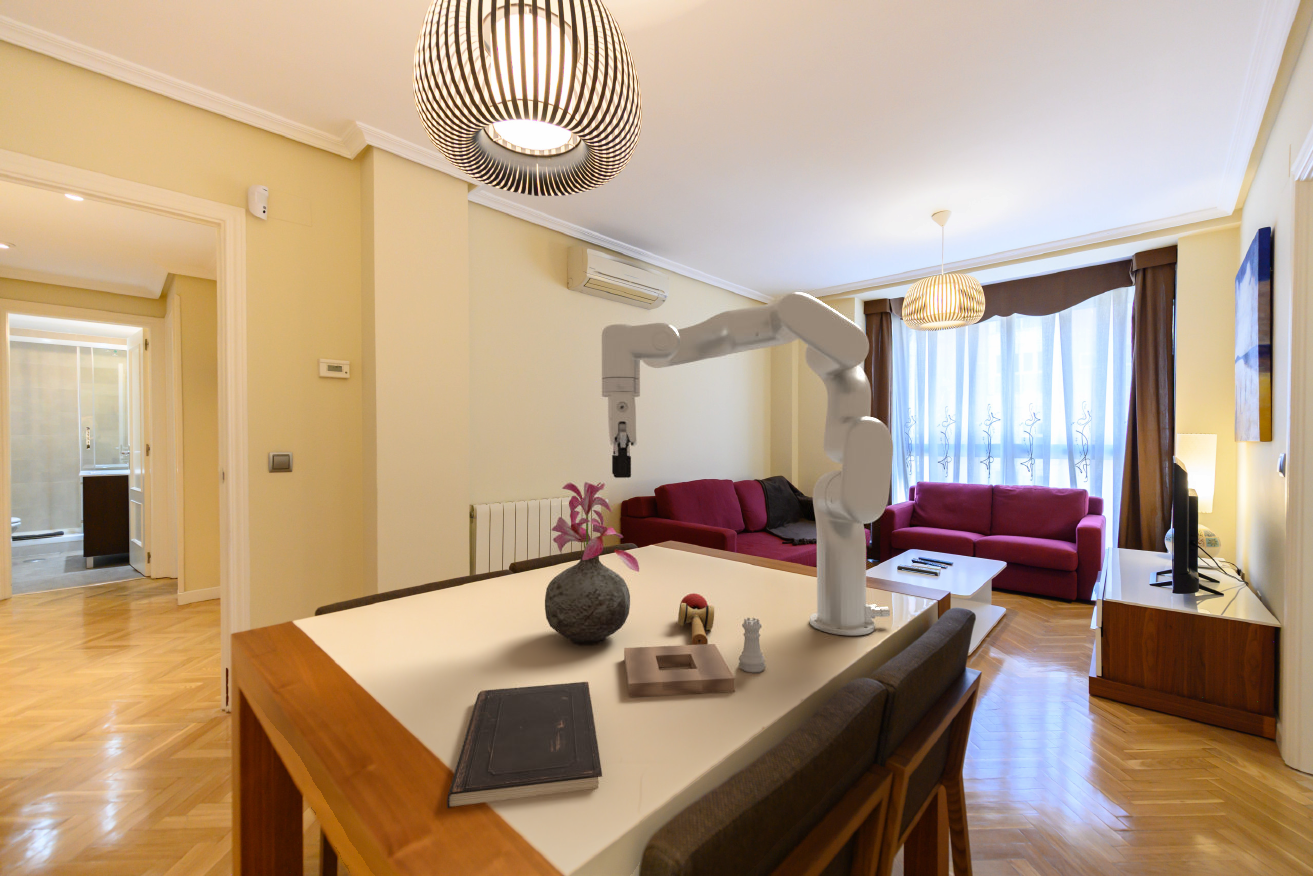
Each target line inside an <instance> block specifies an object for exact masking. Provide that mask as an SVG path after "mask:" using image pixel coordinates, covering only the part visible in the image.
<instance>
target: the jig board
mask: <svg viewBox="0 0 1313 876" xmlns="http://www.w3.org/2000/svg"><path fill="white" fill-rule="evenodd" d="M623 650H624V654H623V655H624V667H625V668H624V669H625V676H626V677H625V678H626V685H627V692H628V694H627V695H628V698H639V697H640V698H641V697H657V696H659V697H660V696H674V695H678V696H679V695H695V694H697V695H698V694H710V693H711V694H713V693H730V692H731V693H732V692H735V691H736V689H735V688H736V687H735V683H736V682H735V679H736V678H735V676H734V675H733V673H732V671H731V669H730V668H729V666H728V664H727V663H726V660H725V659H724V657H723V655H722V654H721V652H720V650H719V648H718V647H717V645H716V644H715V643H708V644H701V645H692V644H686V645H685V644H684V645H683V644H681V645H664V646H663V645H660V646H642V647H641V646H638V647H624V648H623ZM672 667H673V668H674V667H675V668H677V667H691V668H689V669H687V668H686V669H685V668H684V669H669V670H668V669H667V670H660V669H659V668H672Z"/></svg>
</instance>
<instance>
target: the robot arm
mask: <svg viewBox="0 0 1313 876" xmlns="http://www.w3.org/2000/svg"><path fill="white" fill-rule="evenodd" d="M797 340H800V341H801V342H802V343H804V344H805V345H807V346H806V349H805V353H804V354H805V355H804V357H805V361H806V364H807V366H808V367H809V369H810V370H811V371H812V372H814V373H815V375H817V376H818V377H819V378H820V379H821V381H822V382H823V384H824V386H825V389H826V394H827V395H826V396H827V400H826V401H827V402H826V403H827V407H826V416H825V427H824V435H823V451H824V453H825V455H826V456H827V458H828V459H829V460H831V461H832V462H834V463H837V464H841V470H832V471H829V472H826V473H824V474H822V475H821V476H820V477H819V478H818V479H817V481H816V482H815V485H814V486H813V490H812V504H813V512H814V518H815V526H816V595H817V596H816V599H817V600H816V602H817V603H816V605H817V607H816V612H814V613H811V615H809V624H810V625H811V626H812V627H813V628H815V629H817V630H818V631H822V632H825V633H828V634H831V635H832V634H833V635H838V636H852V637H853V636H855V637H857V636H863V635H868V634H871V633H872V632H874V630H875V629H876V628H875V626H876V625H875V622H874V619H876V617H880V618H885V617H886V618H888V617H890V615H891V612H890V608H889V607H888V606H877V605H876V604H869V603H867V553H866V552H867V541H866V533H865V526H864V524H865V525H866V524H870V523H874V522H875V521H877V520H878V519H879V518H880V517H881V516H882V515H883V514H884V512H885V509H886V508H887V504H888V501H889V495H890V487H891V480H892V479H891V478H892V468H893V467H892V466H893V457H894V456H893V455H894V442H893V438H892V435H891V434H892V433H891V432H890V429H889V428H888V427H887V425H886V424H885V423H884V422H883V421H881V420H879V419H878V418H875V417H871V415H872V414H871V413H872V412H871V410H872V409H871V408H872V407H871V406H872V388H871V383H870V381H869V379H868V376H867V374H866V373H865V371H864V370H863V368H862V367H861V366H860V365H861V364H862V363H863V362H864V361H865V360H866V358H867V356H868V355H869V350H870V343H869V338H868V336H867V334H866V333H865V332H864V330H863V329H862V328H861V327H860V326H859V325H857V324H856V323H854V322H853V321H851V320H850V318H849V319H848V318H847V317H846V316H844V315H842V314H841V313H839V312H838V311H836V310H835V309H833V308H831V307H830V306H829V305H827V304H825V303H824V302H823V301H821V300H819V299H817V298H815V297H813V296H811V295H810V294H807V293H804V292H801V291H799V292H798V291H795V292H789V293H787V294H786V295H784V296H782V297H781V298H780V299H779V300H777V302H773V303H768V304H767V303H766V304H762V305H757V306H750V307H749V306H748V307H744V308H743V307H742V308H739V309H738V308H737V309H732V310H726V311H722V312H720V313H718V314H715V315H713V316H711V317H709V318H708V319H706V320H704V321H702V322H700V323H697V324H694V325H691V326H686V327H684V328H679V329H677V328H675V327H674V326H673V325H671V324H668V323H665V322H652V323H646V324H638V325H631V324H626V323H625V324H623V323H617V324H610V325H607V326H605V327H604V328H603V329H602V331H601V397H604V398H607V420H608V435H609V441H610V445H611V446H612V449H613V450H612V455H611V459H612V460H611V468H612V470H611V471H612V472H611V473H612V475H613V477H614V478H616V479H623V478H624V479H626V478H627V479H629V478H631V476H632V455H631V449H630V446H631V447H635V446H636V445H637V443H638V442H637V411H636V410H637V409H636V408H637V406H636V398H639V397H641V367H640V366H641V361H642V362H643V363H644V364H645V365H646V366H648V367H651V368H655V369H662V368H667V367H669V368H670V367H673V366H679V365H685V364H689V363H695V362H698V361H704V360H708V359H714V358H721V357H725V356H727V355H732V354H738V353H742V352H747V351H748V352H749V351H753V350H754V351H755V350H759V349H765V348H771V347H777V346H782V345H783V346H784V345H786V344H790V343H792V342H795V341H797Z"/></svg>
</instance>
